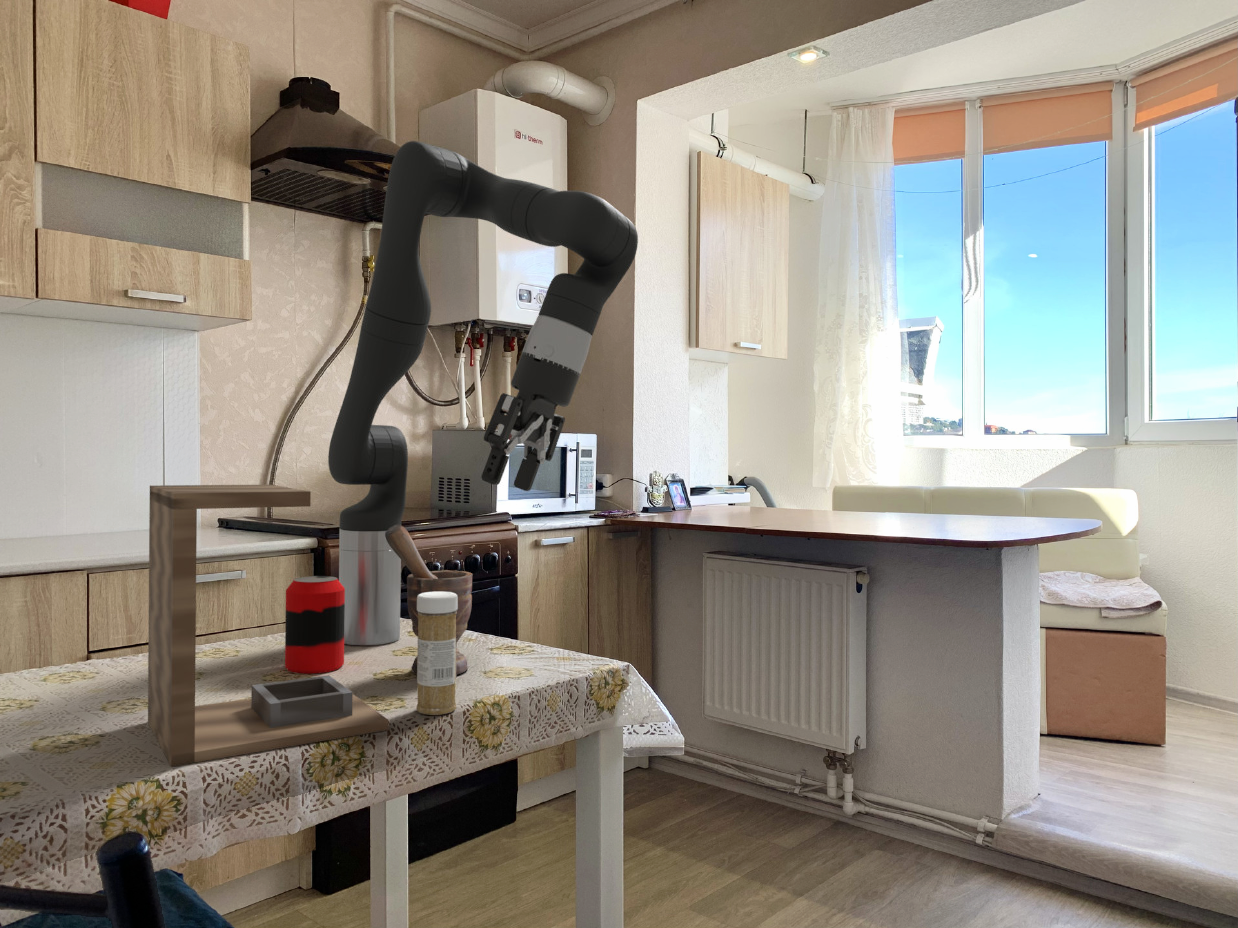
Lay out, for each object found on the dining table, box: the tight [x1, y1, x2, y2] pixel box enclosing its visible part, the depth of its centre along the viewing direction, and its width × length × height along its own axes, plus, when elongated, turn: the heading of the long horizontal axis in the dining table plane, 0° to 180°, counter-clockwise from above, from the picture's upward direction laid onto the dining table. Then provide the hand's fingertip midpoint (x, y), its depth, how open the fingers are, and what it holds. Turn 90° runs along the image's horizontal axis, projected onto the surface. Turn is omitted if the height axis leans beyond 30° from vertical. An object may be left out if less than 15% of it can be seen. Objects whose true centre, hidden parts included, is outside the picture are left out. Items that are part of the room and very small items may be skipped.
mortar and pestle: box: [385, 524, 473, 676], centre depth 120 cm, size 12×9×20 cm
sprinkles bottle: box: [415, 591, 458, 716], centre depth 103 cm, size 5×5×14 cm
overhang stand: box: [147, 484, 390, 767], centre depth 96 cm, size 16×21×26 cm
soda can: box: [284, 575, 345, 675], centre depth 122 cm, size 8×8×12 cm
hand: (505, 486), depth 110 cm, fingers open, 8 cm apart
